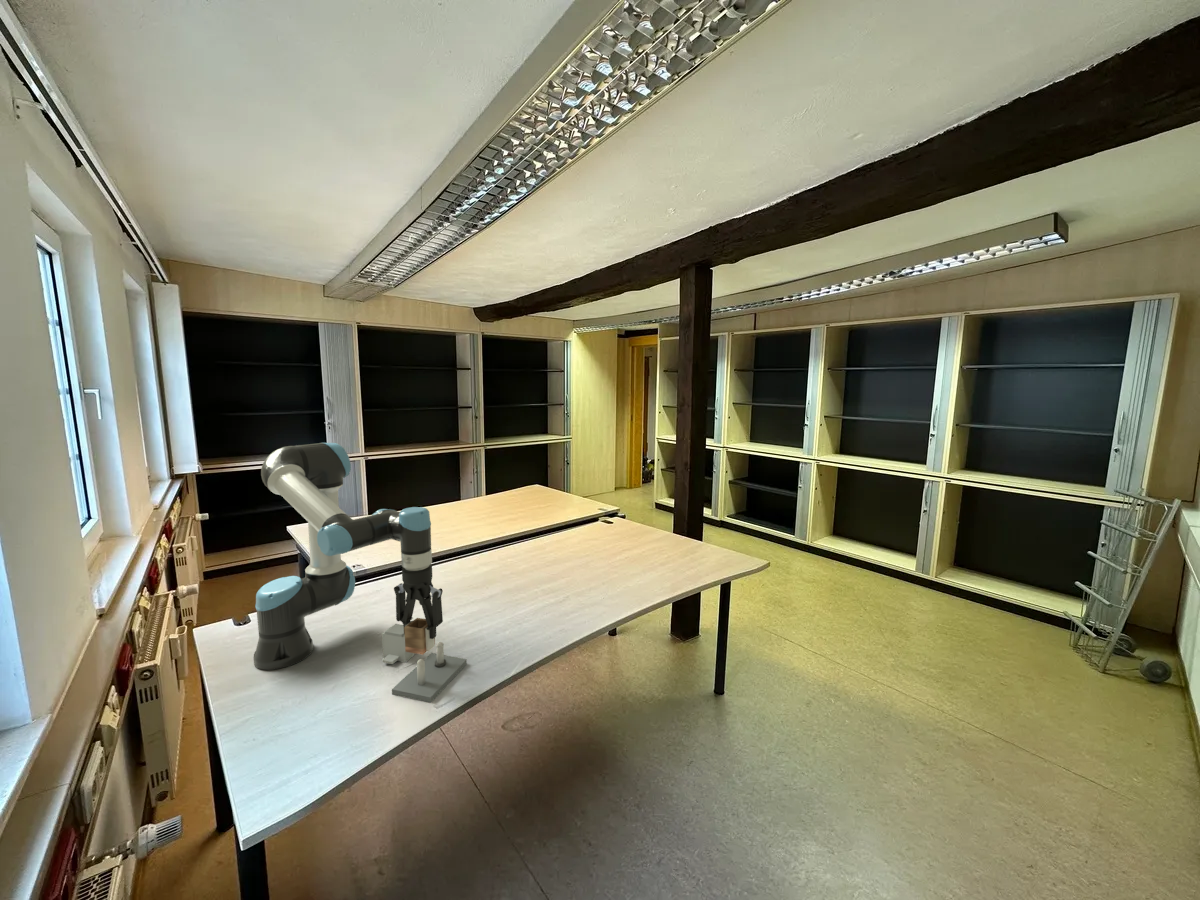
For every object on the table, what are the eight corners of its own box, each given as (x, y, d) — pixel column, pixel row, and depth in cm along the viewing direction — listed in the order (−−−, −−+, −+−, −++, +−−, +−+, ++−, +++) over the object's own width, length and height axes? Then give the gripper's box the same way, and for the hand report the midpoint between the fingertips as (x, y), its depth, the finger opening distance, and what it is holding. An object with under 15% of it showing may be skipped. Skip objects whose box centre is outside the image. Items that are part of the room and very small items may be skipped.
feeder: (376, 663, 139) (374, 636, 138) (394, 649, 146) (393, 623, 145) (398, 668, 137) (397, 640, 136) (416, 653, 144) (415, 626, 143)
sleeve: (405, 651, 124) (404, 627, 123) (418, 641, 129) (417, 617, 128) (423, 654, 123) (421, 630, 122) (435, 644, 128) (434, 620, 127)
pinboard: (392, 694, 125) (390, 665, 124) (431, 657, 142) (431, 631, 141) (430, 702, 122) (429, 672, 121) (466, 663, 139) (466, 637, 138)
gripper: (377, 567, 122) (382, 649, 125) (439, 574, 117) (442, 659, 120) (396, 557, 129) (400, 635, 132) (455, 564, 124) (458, 644, 127)
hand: (420, 646), depth 126 cm, fingers closed on sleeve, 5 cm apart
